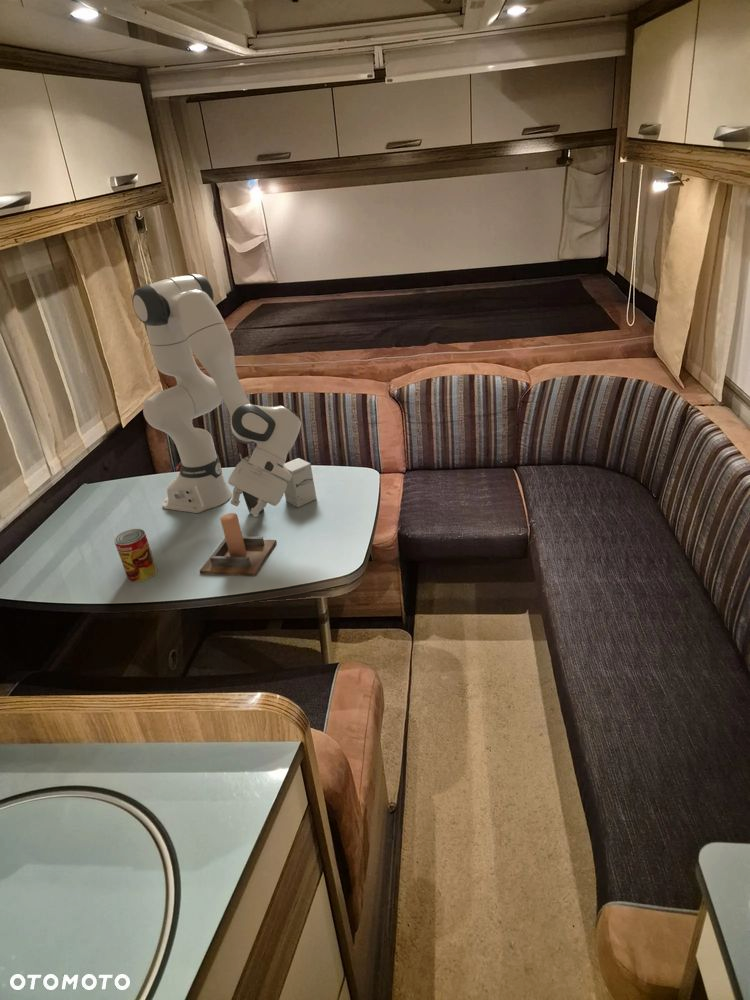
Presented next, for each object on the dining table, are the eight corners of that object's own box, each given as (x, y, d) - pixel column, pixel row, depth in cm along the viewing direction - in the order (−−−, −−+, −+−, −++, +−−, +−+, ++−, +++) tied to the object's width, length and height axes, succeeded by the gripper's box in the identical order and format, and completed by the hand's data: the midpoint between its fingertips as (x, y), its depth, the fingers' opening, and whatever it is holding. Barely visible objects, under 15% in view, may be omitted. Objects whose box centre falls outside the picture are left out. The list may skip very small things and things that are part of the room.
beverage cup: (263, 518, 194) (250, 458, 185) (241, 518, 196) (227, 459, 186) (271, 506, 200) (259, 448, 191) (250, 506, 202) (236, 448, 193)
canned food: (122, 576, 175) (108, 538, 169) (148, 562, 179) (135, 525, 174) (136, 585, 170) (123, 547, 164) (162, 571, 174) (150, 533, 169)
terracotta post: (227, 559, 174) (217, 521, 168) (234, 550, 178) (224, 512, 172) (242, 559, 173) (233, 521, 167) (249, 550, 177) (239, 513, 171)
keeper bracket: (200, 573, 171) (197, 563, 169) (225, 541, 185) (222, 531, 183) (255, 576, 167) (252, 565, 165) (276, 542, 181) (274, 532, 179)
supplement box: (298, 508, 197) (290, 471, 191) (285, 500, 203) (278, 465, 197) (317, 499, 201) (311, 463, 195) (304, 492, 207) (298, 456, 201)
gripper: (236, 450, 178) (214, 495, 177) (279, 469, 164) (255, 517, 163) (252, 459, 183) (231, 502, 182) (296, 477, 169) (273, 525, 168)
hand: (243, 510), depth 172 cm, fingers open, 8 cm apart
